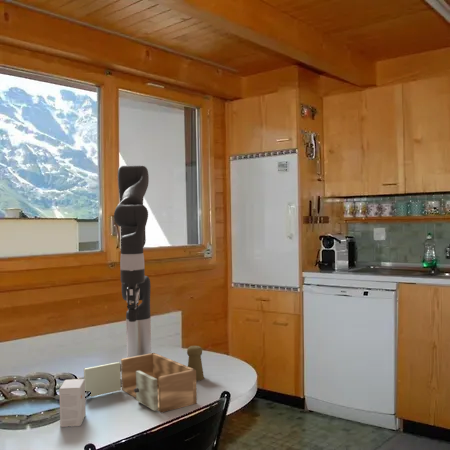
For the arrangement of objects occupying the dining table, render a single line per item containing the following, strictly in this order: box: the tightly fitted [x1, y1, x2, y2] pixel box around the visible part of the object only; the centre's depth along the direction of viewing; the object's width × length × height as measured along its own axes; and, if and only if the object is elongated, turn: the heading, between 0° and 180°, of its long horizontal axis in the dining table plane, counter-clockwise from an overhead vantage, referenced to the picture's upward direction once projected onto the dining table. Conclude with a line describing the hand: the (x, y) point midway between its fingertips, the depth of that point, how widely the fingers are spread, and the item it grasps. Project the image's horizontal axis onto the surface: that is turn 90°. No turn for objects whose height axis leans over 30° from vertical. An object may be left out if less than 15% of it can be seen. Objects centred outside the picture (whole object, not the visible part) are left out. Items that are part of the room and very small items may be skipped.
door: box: [83, 361, 122, 398], centre depth 167 cm, size 12×2×9 cm, turn 126°
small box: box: [58, 378, 87, 428], centre depth 146 cm, size 8×6×10 cm
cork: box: [186, 345, 205, 382], centre depth 183 cm, size 6×6×11 cm
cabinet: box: [120, 352, 198, 414], centre depth 164 cm, size 26×15×10 cm, turn 36°
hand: (133, 318), depth 169 cm, fingers open, 8 cm apart
